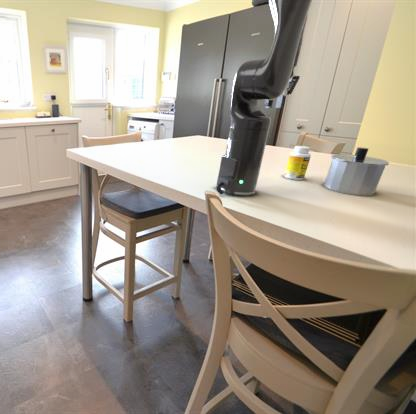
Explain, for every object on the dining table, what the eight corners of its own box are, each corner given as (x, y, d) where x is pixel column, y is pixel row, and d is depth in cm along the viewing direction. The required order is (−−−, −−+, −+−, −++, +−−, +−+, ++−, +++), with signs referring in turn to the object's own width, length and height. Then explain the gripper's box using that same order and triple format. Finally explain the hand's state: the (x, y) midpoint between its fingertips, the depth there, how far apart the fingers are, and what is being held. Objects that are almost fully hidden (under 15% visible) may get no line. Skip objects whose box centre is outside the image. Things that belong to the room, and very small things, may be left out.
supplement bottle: (298, 181, 90) (308, 149, 86) (280, 177, 94) (288, 146, 90) (307, 178, 93) (316, 147, 89) (289, 174, 97) (297, 144, 93)
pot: (354, 197, 77) (365, 166, 73) (315, 184, 87) (323, 157, 84) (384, 194, 80) (396, 164, 76) (343, 182, 90) (352, 155, 86)
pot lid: (365, 169, 73) (371, 153, 72) (320, 158, 84) (324, 144, 83) (399, 166, 76) (405, 151, 75) (351, 157, 87) (355, 143, 86)
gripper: (293, 53, 95) (280, 107, 101) (259, 51, 91) (247, 107, 98) (314, 50, 88) (299, 108, 95) (277, 48, 85) (264, 108, 91)
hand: (273, 107), depth 96 cm, fingers open, 3 cm apart
